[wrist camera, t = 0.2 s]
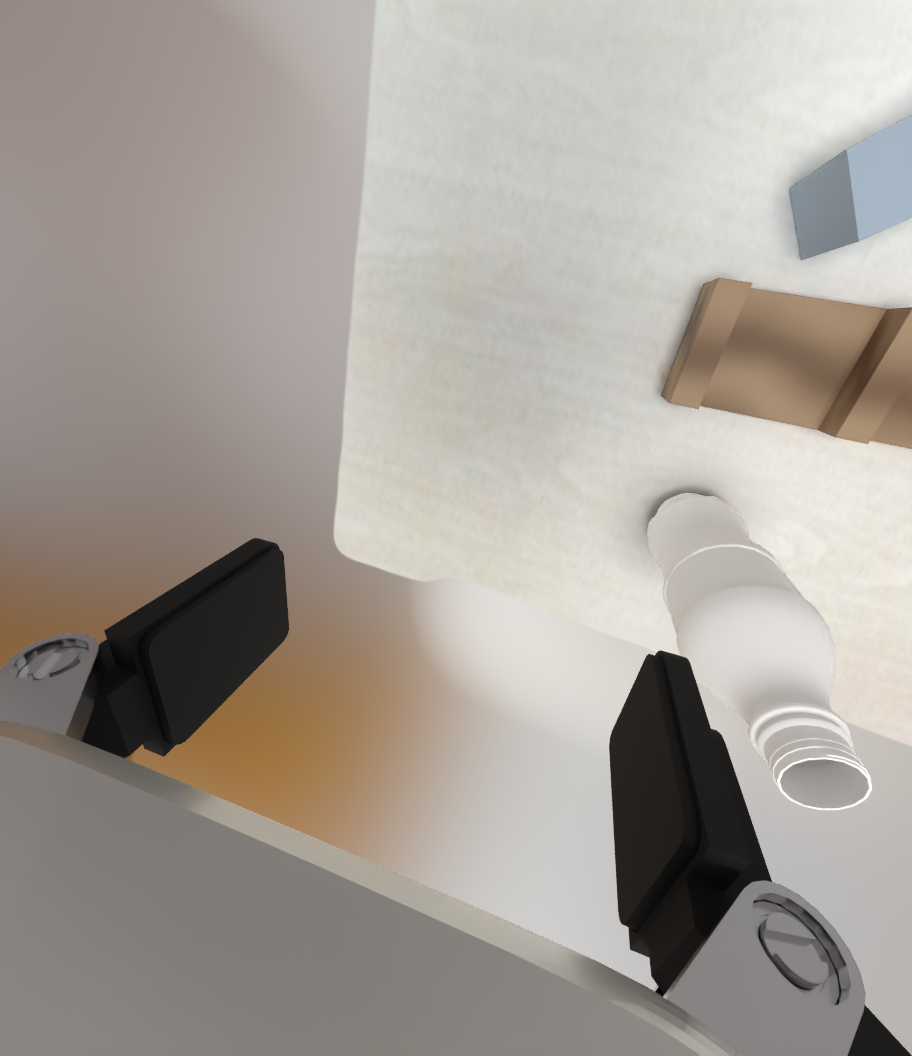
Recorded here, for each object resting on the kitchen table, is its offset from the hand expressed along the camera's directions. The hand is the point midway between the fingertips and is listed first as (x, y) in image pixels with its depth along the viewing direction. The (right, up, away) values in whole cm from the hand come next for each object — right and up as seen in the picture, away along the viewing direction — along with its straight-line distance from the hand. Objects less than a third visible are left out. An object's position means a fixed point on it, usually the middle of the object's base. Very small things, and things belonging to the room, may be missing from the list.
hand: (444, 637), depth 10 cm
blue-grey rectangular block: (+26, +24, +16) cm, 39 cm away
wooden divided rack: (+29, +14, +20) cm, 38 cm away
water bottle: (+21, +3, +27) cm, 35 cm away
